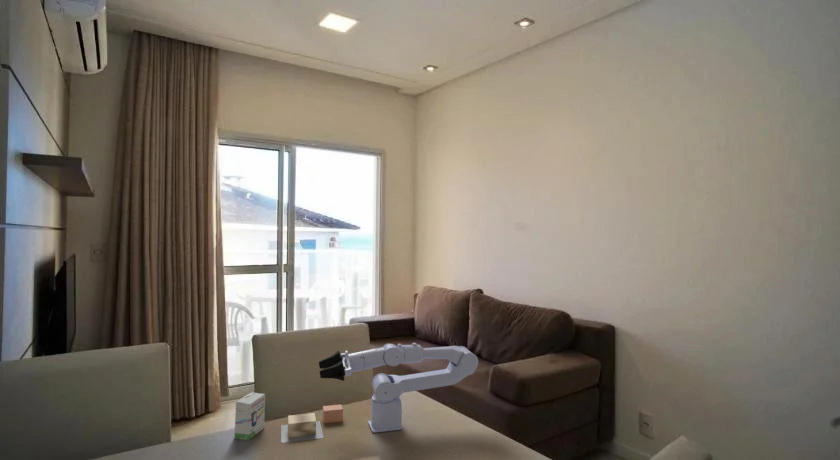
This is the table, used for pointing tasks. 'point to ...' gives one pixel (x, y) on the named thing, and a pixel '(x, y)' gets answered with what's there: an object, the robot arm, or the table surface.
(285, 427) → the base plate
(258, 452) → the table surface
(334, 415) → the terracotta brick
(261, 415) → the ink box
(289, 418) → the maple brick
